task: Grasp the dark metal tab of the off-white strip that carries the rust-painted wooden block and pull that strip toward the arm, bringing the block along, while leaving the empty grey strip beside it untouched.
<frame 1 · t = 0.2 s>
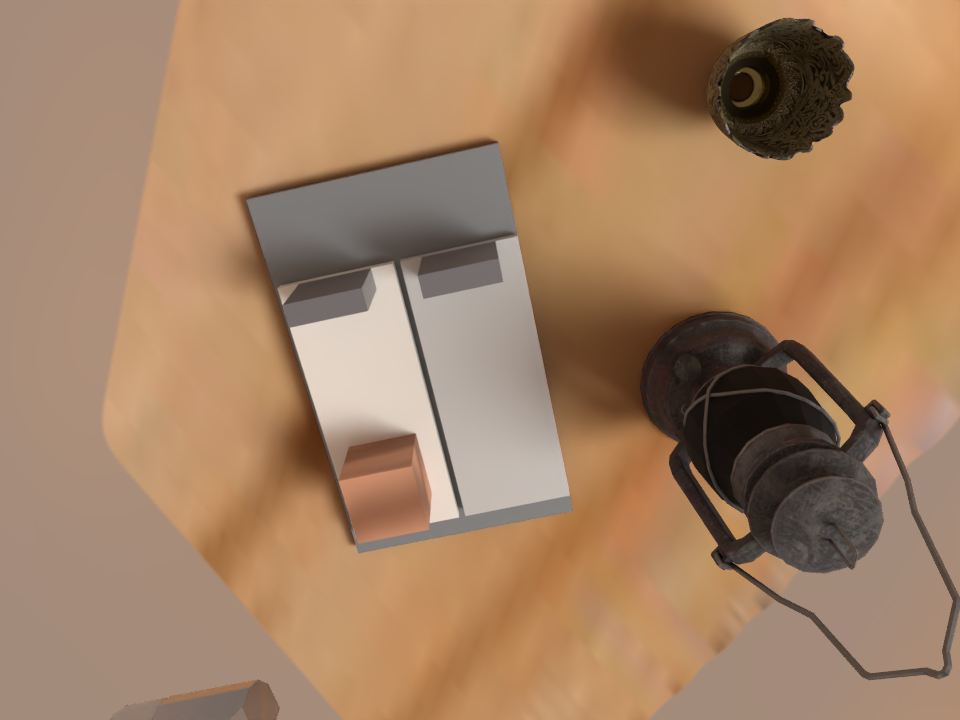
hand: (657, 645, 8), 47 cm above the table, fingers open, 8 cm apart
slate board: (422, 362, 57), on the table
grey strip: (490, 397, 54), point 4 cm above the table, slide at 0.0 cm
lantern: (712, 379, 59), on the table
rust block: (390, 470, 58), point 2 cm above the table, touching white strip
white strip: (369, 421, 55), point 4 cm above the table, slide at 0.0 cm, touching rust block
dark ornate pot: (739, 87, 51), on the table
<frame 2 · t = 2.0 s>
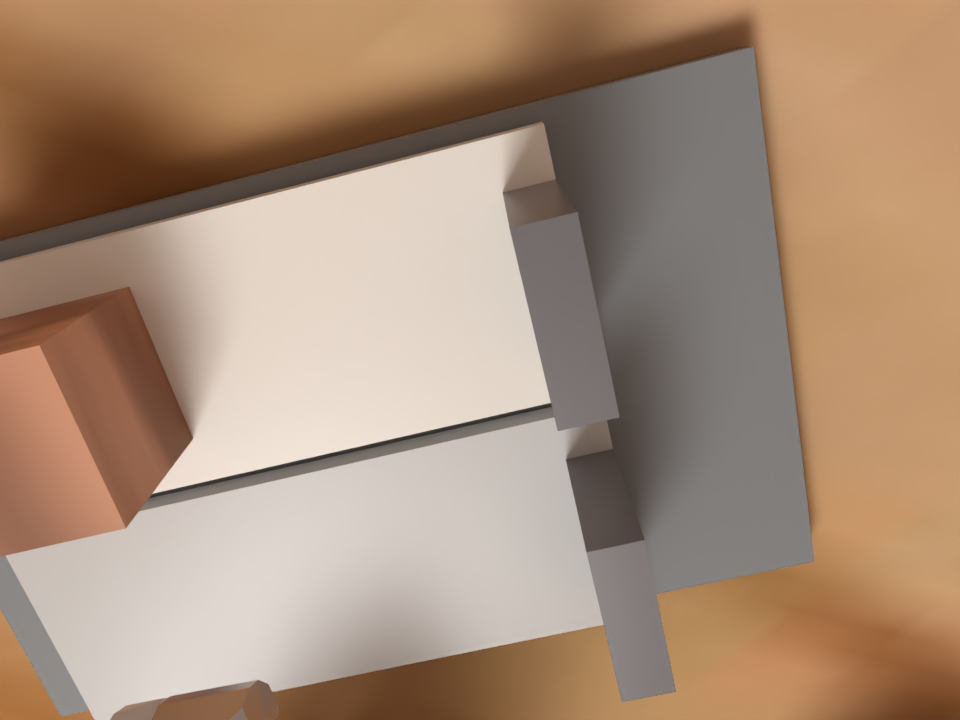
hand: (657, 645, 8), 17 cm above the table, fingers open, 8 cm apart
slate board: (356, 421, 26), on the table
grey strip: (318, 622, 24), point 4 cm above the table, slide at 0.0 cm
rust block: (84, 384, 24), point 2 cm above the table, touching white strip
white strip: (220, 372, 21), point 4 cm above the table, slide at 0.0 cm, touching rust block
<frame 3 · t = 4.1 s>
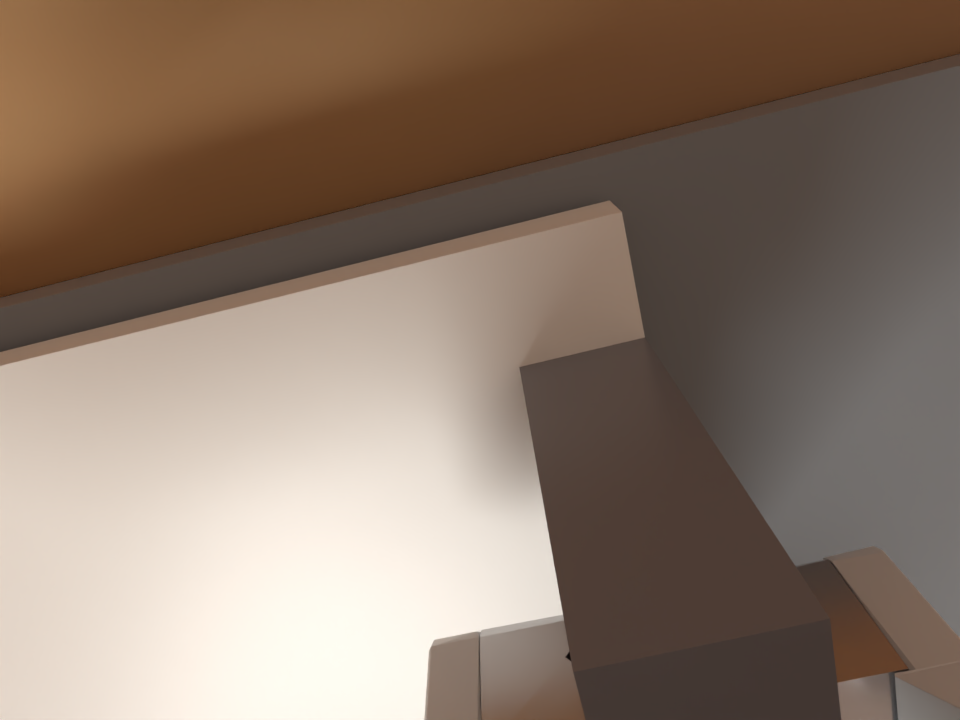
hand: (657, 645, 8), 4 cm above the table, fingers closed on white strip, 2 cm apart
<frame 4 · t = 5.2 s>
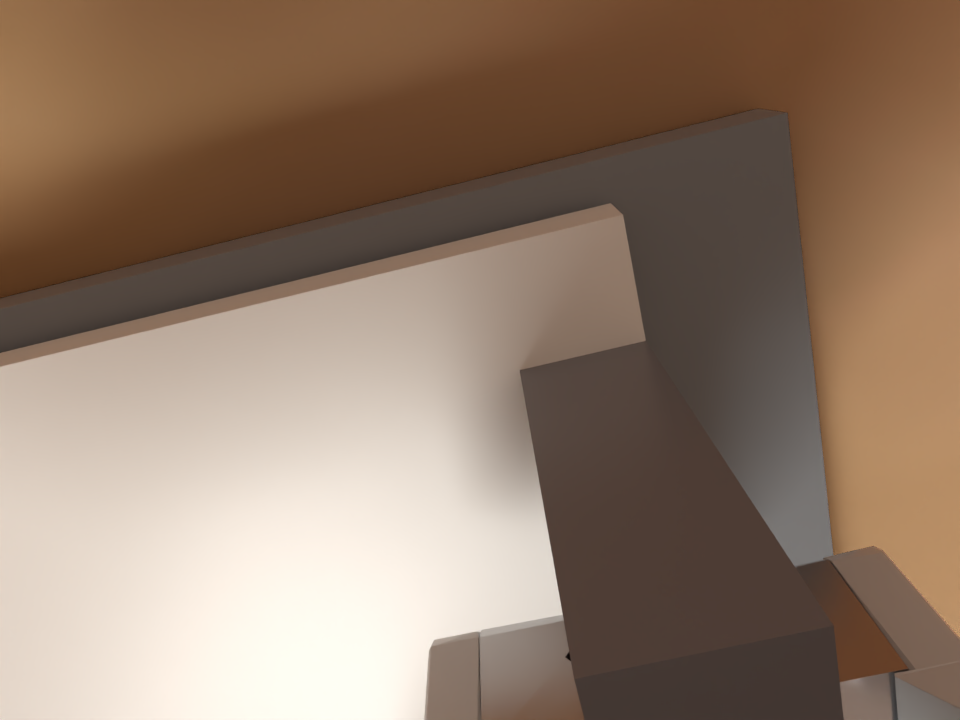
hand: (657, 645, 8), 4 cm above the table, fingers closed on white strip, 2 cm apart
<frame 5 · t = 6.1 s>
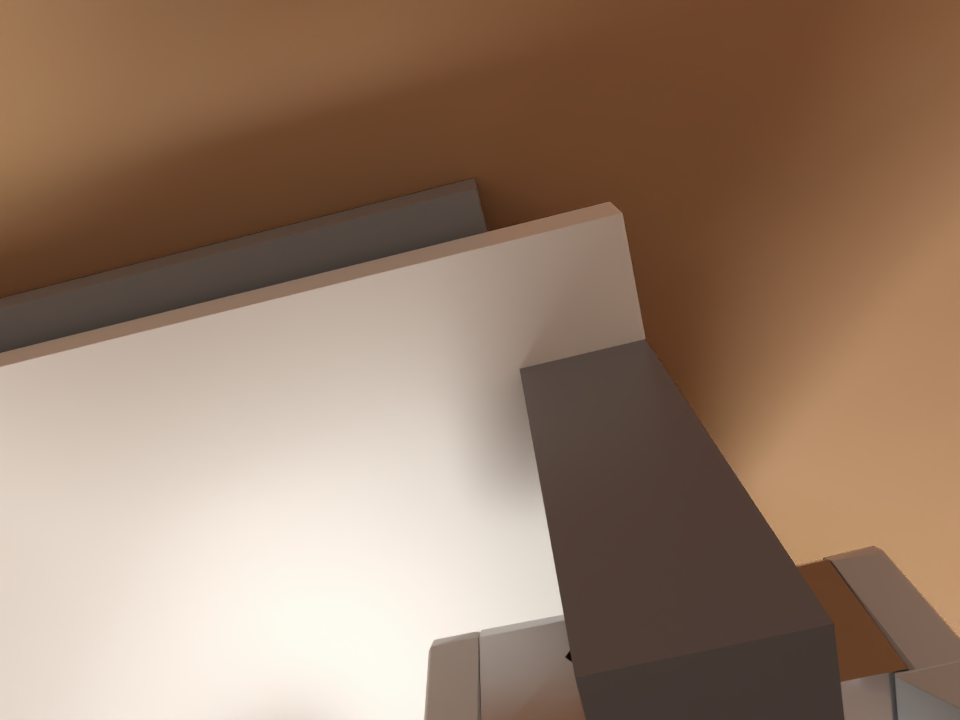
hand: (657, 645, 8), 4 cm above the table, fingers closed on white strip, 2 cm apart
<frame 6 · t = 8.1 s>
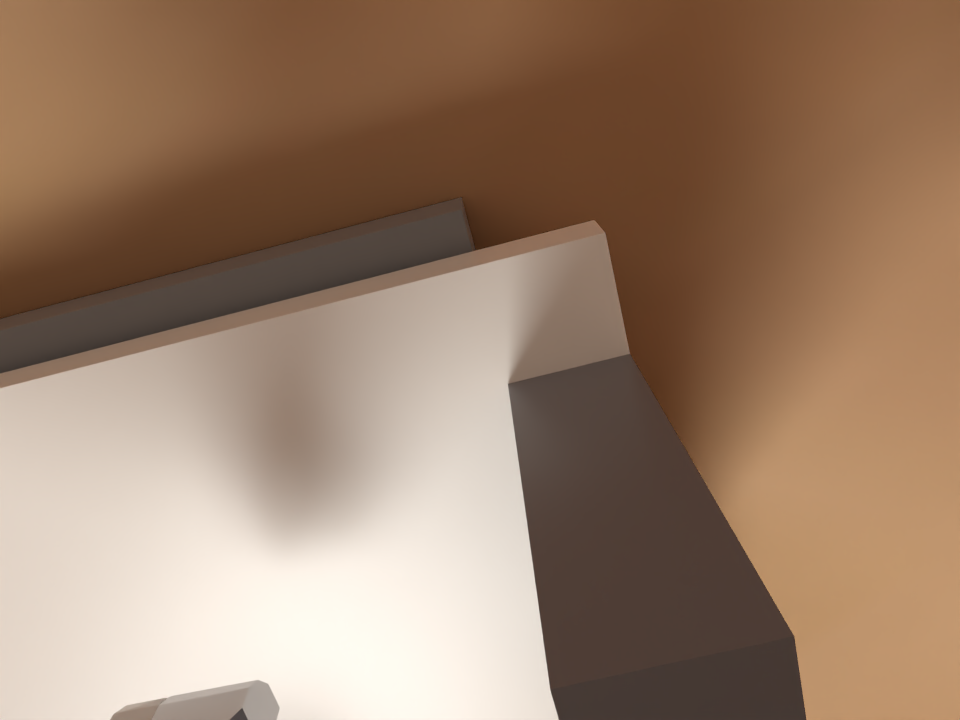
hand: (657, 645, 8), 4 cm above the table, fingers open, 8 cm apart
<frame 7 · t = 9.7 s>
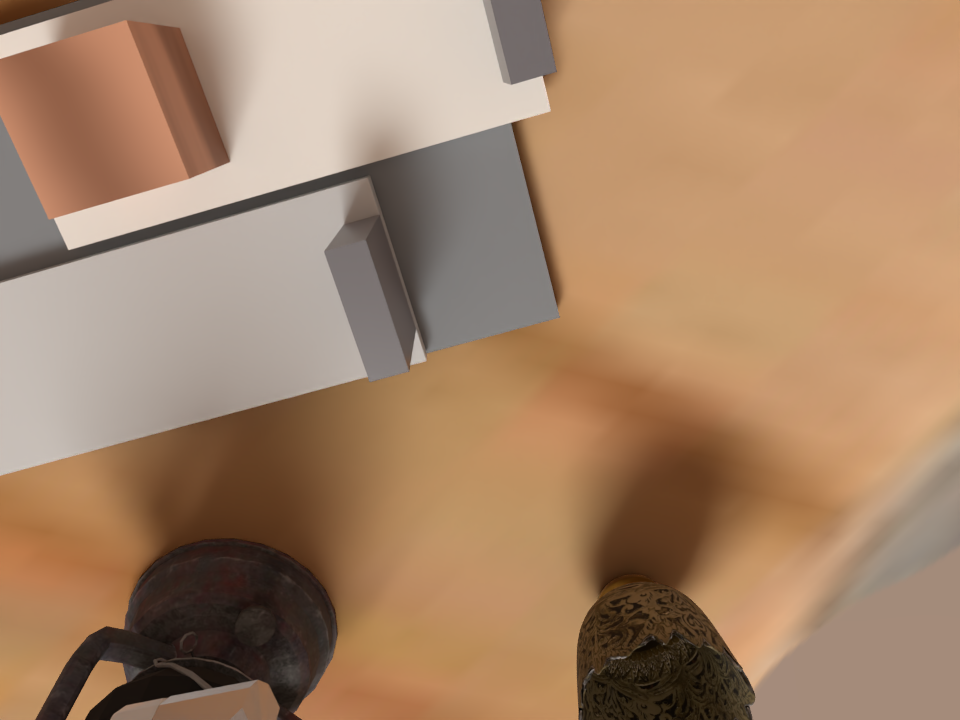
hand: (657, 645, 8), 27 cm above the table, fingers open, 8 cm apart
slate board: (188, 211, 33), on the table
grey strip: (152, 353, 31), point 4 cm above the table, slide at 0.0 cm
lantern: (235, 624, 41), on the table
rust block: (143, 115, 30), point 2 cm above the table, touching white strip
white strip: (254, 78, 28), point 4 cm above the table, slide at 7.5 cm, touching rust block
dark ornate pot: (628, 595, 41), on the table
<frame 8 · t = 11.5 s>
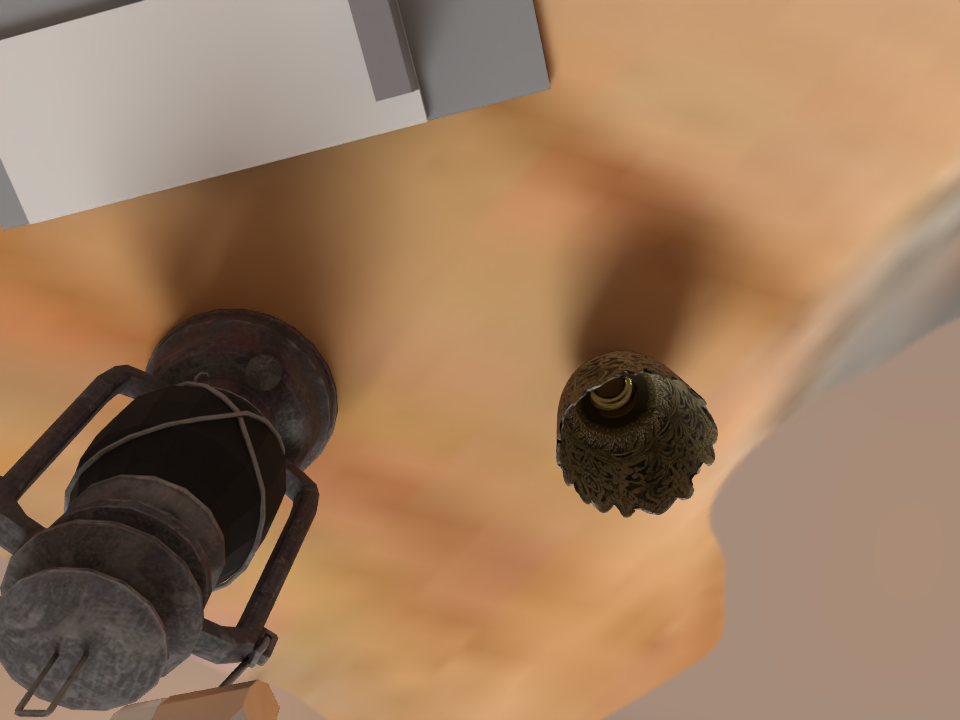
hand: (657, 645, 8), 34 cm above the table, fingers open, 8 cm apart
grey strip: (179, 89, 34), point 4 cm above the table, slide at 0.0 cm
lantern: (243, 399, 44), on the table
dark ornate pot: (608, 382, 44), on the table
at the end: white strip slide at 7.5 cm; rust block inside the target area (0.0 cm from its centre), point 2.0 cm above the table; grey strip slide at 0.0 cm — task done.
